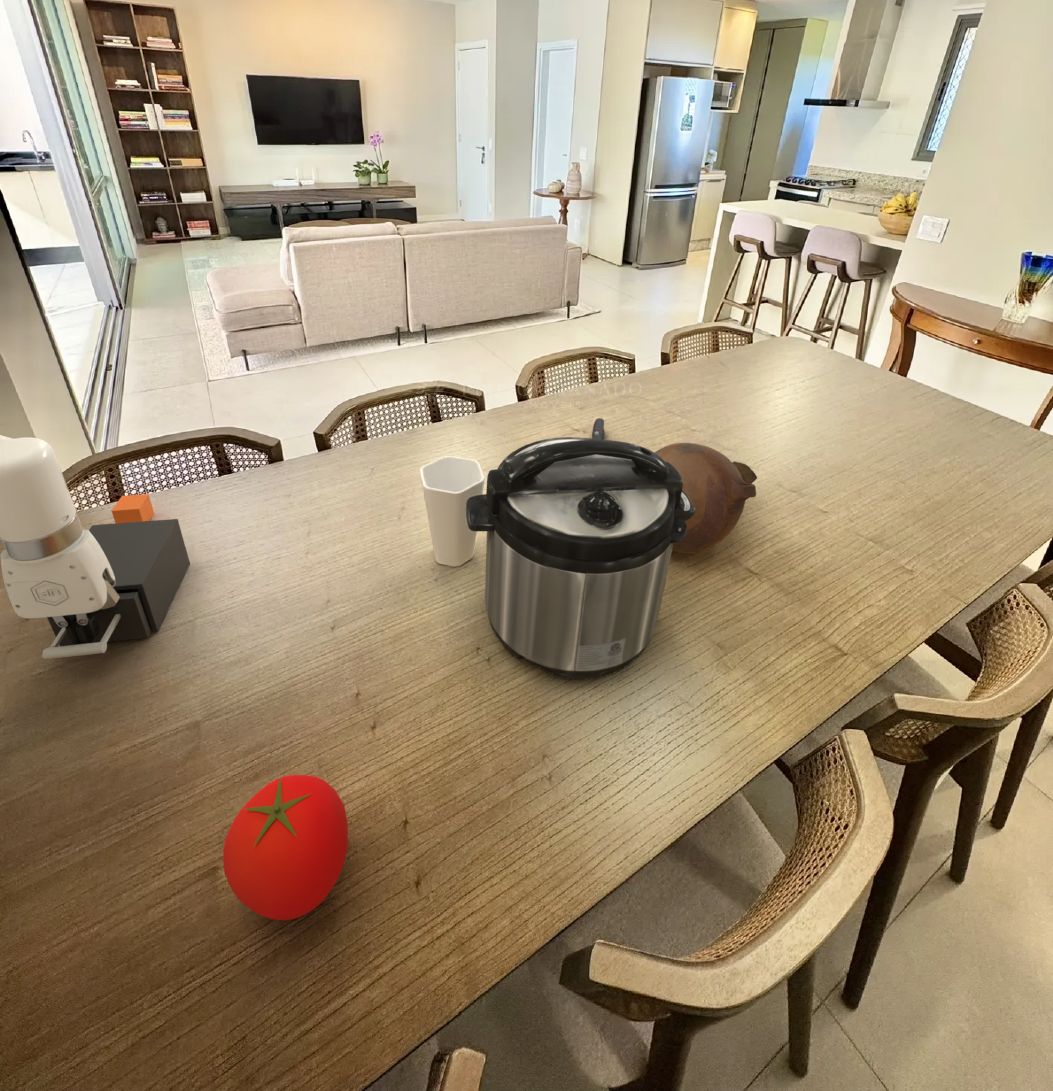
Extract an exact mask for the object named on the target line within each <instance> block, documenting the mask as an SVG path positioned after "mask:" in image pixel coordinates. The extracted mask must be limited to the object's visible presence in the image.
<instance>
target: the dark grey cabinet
mask: <svg viewBox="0 0 1053 1091" xmlns="http://www.w3.org/2000/svg"><path fill="white" fill-rule="evenodd" d="M88 530H89V531H90V533H91V534H92V535H93V536H94V538H95V539H96V541H97V542H98V543H99V545H100V547H101V548H102V550H103V552H104V554H105V556H106V558H107V560H108V562H109V564H110V566H111V568H112V571H113V573H114V576H115V580H116V585H115V587H113V588H114V590H115V591H117V590H128V589H138V592H139V595H140V597H141V600H142V603H143V606H144V609H145V612H146V615H147V618H148V621H149V623H148V625H149V627H150V630H151V632H150V634H153V633H159V631H160V629H161V627H162V624H163V622H164V620H165V618H166V617H167V616H166V615H167V613H168V611H169V609H170V607H171V605H172V603H173V601H174V599H175V596H176V594H177V592H178V591H179V588H180V587H181V584H182V581H183V580H184V578H185V575H186V573H187V572H188V569H189V567H190V565H191V561H190V558H189V555H188V551H187V546H186V544H185V541H184V536H183V533H182V529H181V525H180V523H179V519H178V518H171V519H169V518H168V519H158V520H150V521H142V522H128V523H115V522H114V523H104V524H102V523H101V524H92V525H91V526H90V527H89V529H88Z"/></svg>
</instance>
